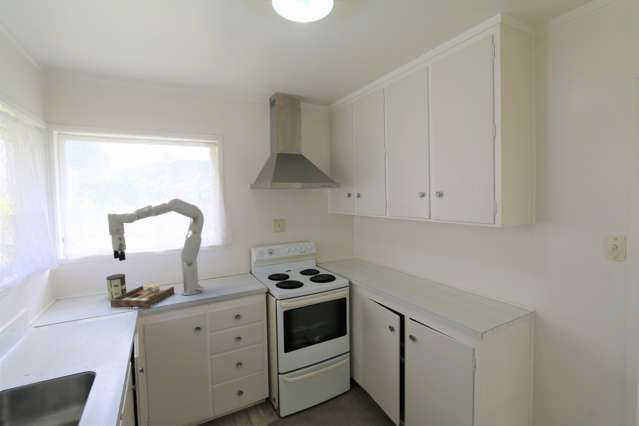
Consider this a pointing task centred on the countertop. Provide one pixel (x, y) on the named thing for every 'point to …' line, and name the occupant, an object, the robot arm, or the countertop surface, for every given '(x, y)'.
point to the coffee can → (116, 285)
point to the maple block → (153, 289)
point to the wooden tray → (140, 298)
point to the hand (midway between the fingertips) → (119, 259)
